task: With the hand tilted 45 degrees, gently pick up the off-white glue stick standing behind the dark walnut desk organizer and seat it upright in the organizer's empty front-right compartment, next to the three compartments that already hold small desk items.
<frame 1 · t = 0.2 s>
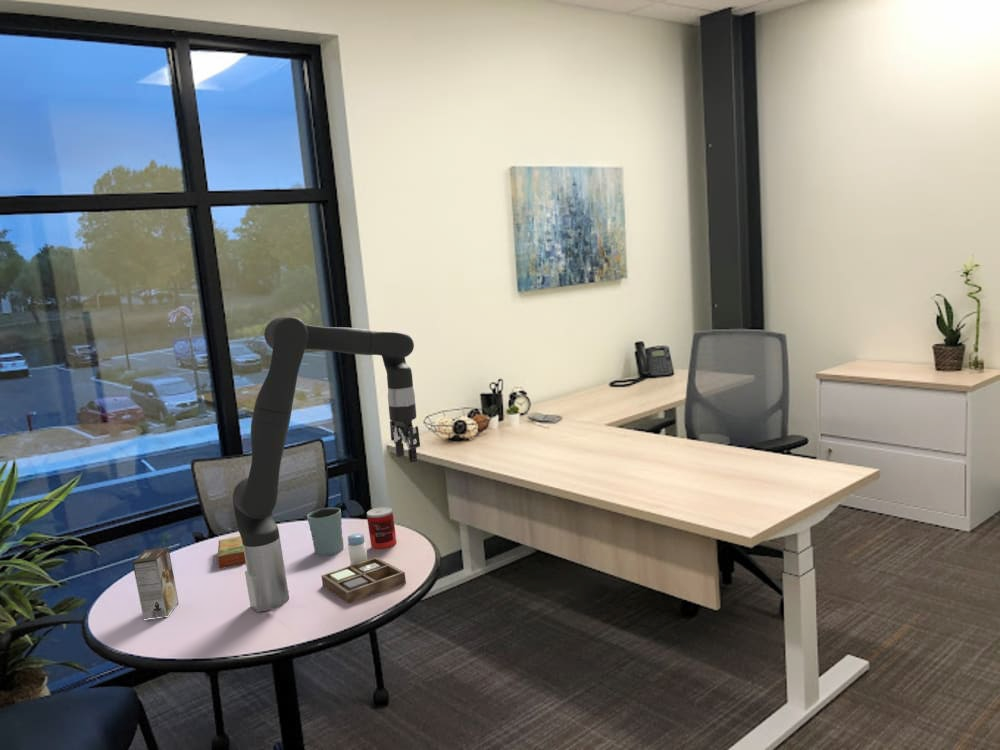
hand: (406, 459, 228), 28 cm above the table, tool pointing down, fingers open, 8 cm apart
organizer: (364, 586, 213), on the table
note block: (344, 585, 214), point 1 cm above the table, touching organizer
glue stick: (360, 568, 226), on the table
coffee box: (161, 612, 211), on the table
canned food: (384, 546, 242), on the table
eraser: (357, 593, 208), point 1 cm above the table, touching organizer
grey rectangular block: (370, 575, 218), point 1 cm above the table, touching organizer
green cup: (329, 550, 244), on the table
carton: (233, 558, 247), on the table
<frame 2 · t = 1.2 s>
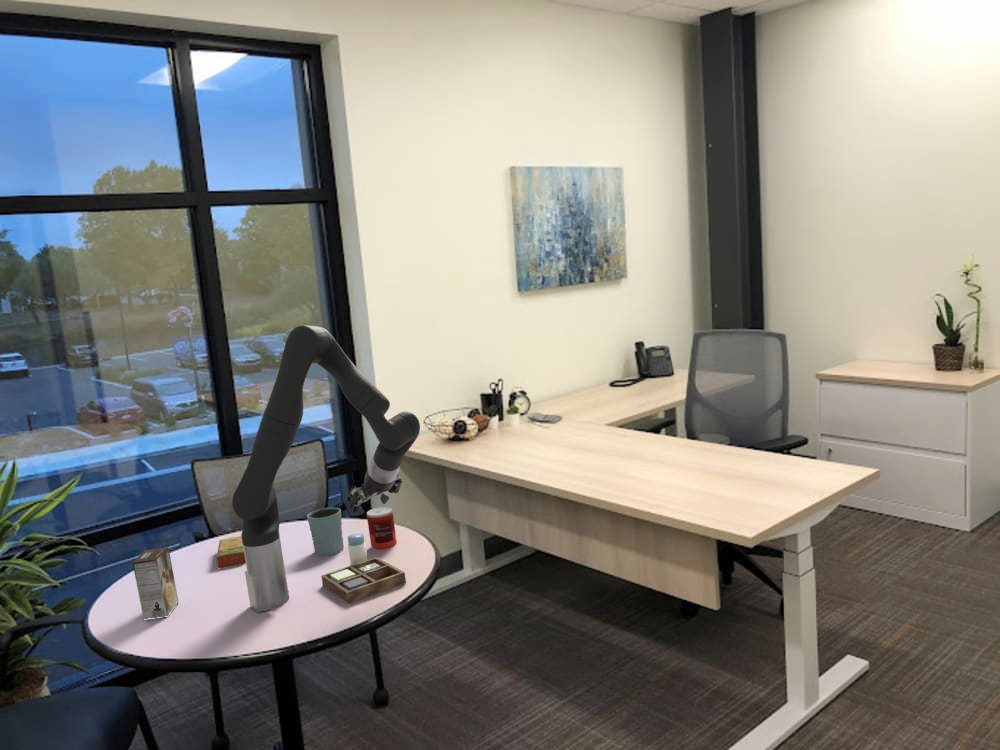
hand: (368, 505, 214), 21 cm above the table, tool tilted 45°, fingers open, 8 cm apart
nothing on the table moved.
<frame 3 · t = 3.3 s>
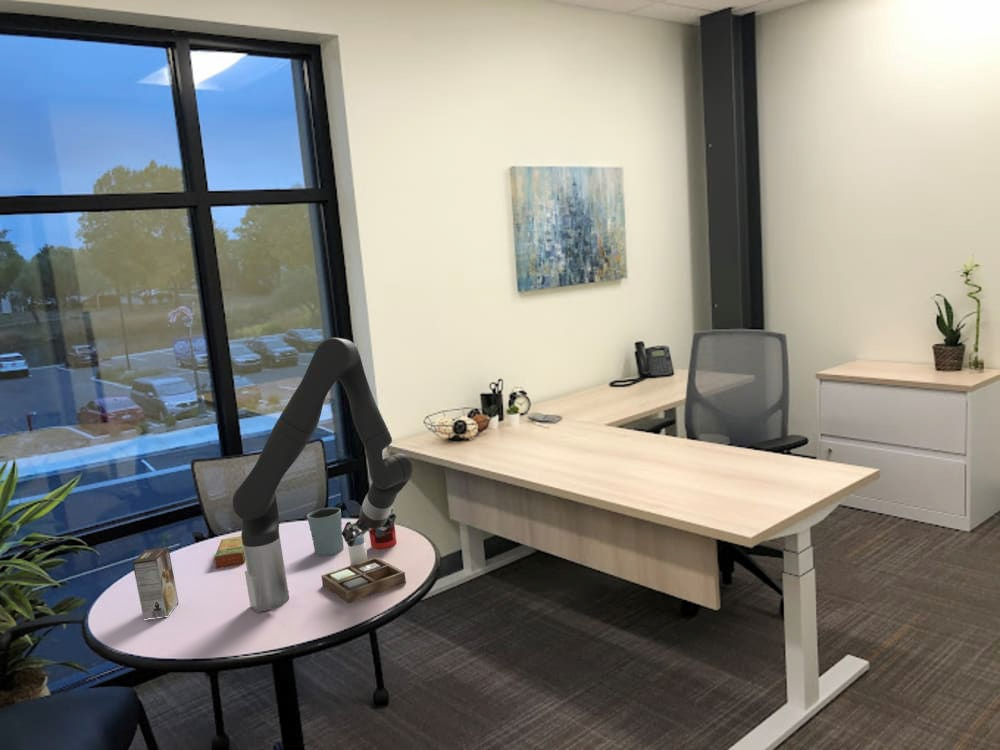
hand: (363, 539, 221), 10 cm above the table, tool tilted 45°, fingers open, 8 cm apart
nothing on the table moved.
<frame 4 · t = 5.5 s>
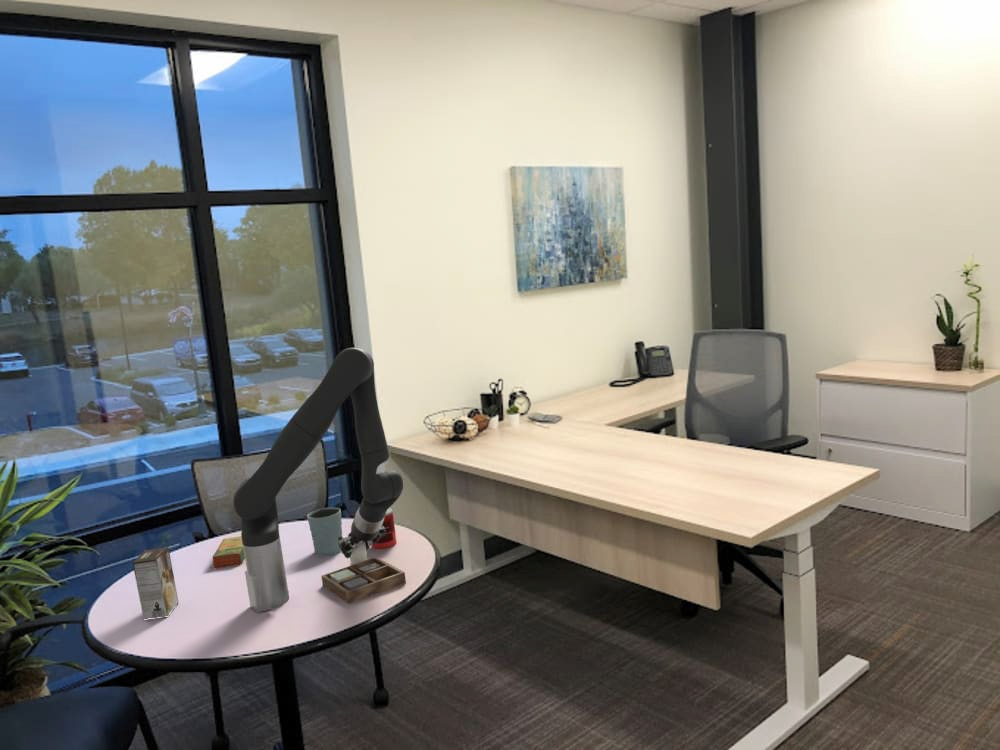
hand: (355, 552, 227), 4 cm above the table, tool tilted 45°, fingers closed on glue stick, 4 cm apart
glue stick: (360, 568, 226), on the table, touching gripper
everything else where it was.
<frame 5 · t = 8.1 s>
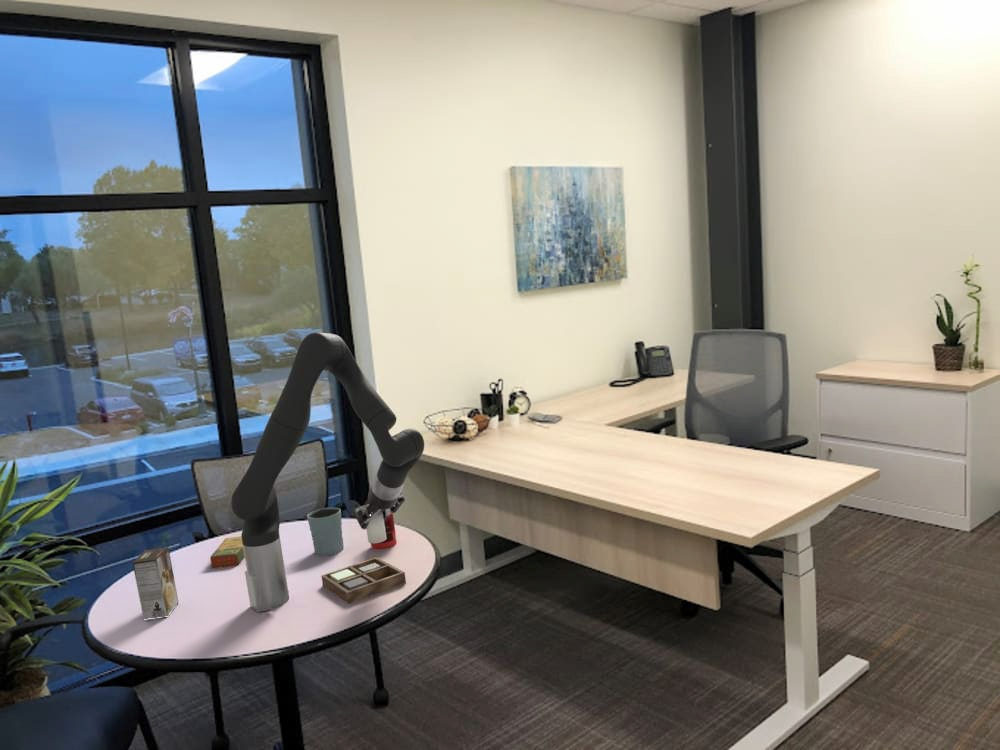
hand: (371, 523, 212), 16 cm above the table, tool tilted 45°, fingers closed on glue stick, 4 cm apart
glue stick: (377, 540, 211), point 12 cm above the table, touching gripper
when the fingers open (7 cm above the table, at t = 10.5 s): glue stick drops 2 cm, resting on organizer.
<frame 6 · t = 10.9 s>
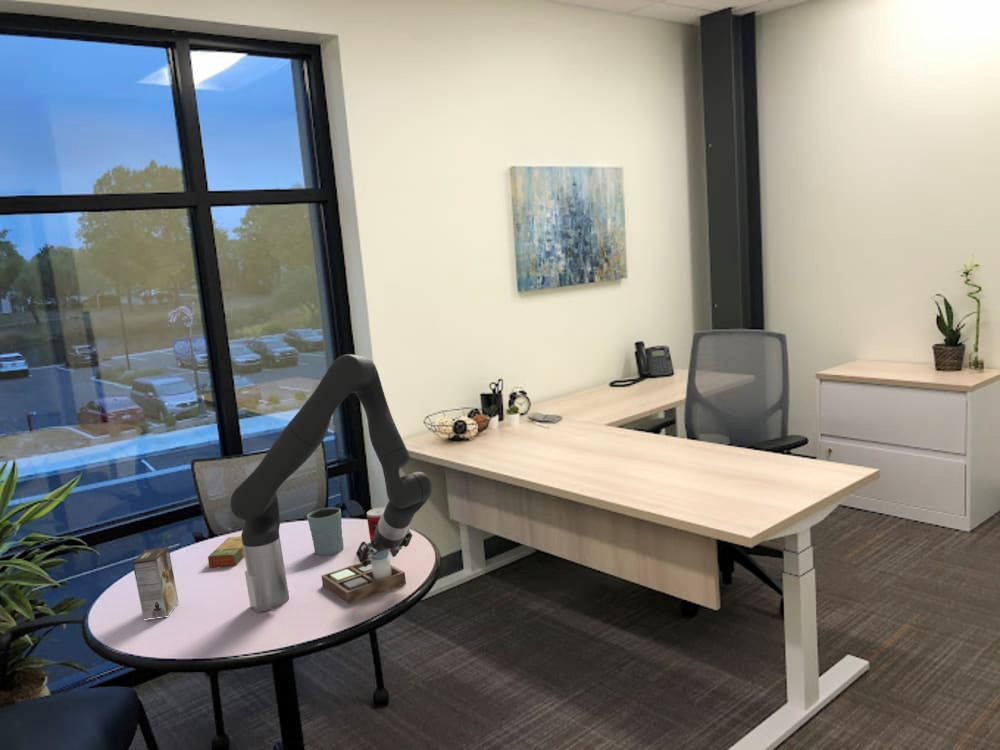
hand: (378, 558, 212), 7 cm above the table, tool tilted 45°, fingers open, 8 cm apart
glue stick: (383, 583, 212), point 1 cm above the table, touching organizer
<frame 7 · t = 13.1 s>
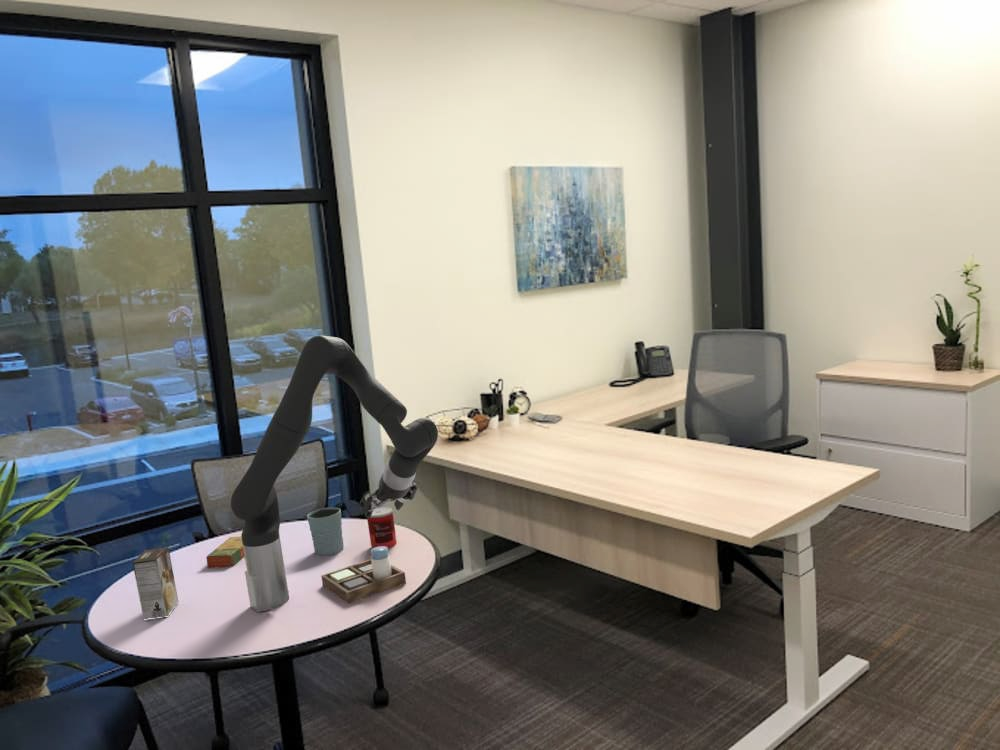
hand: (381, 511, 208), 20 cm above the table, tool tilted 45°, fingers open, 8 cm apart
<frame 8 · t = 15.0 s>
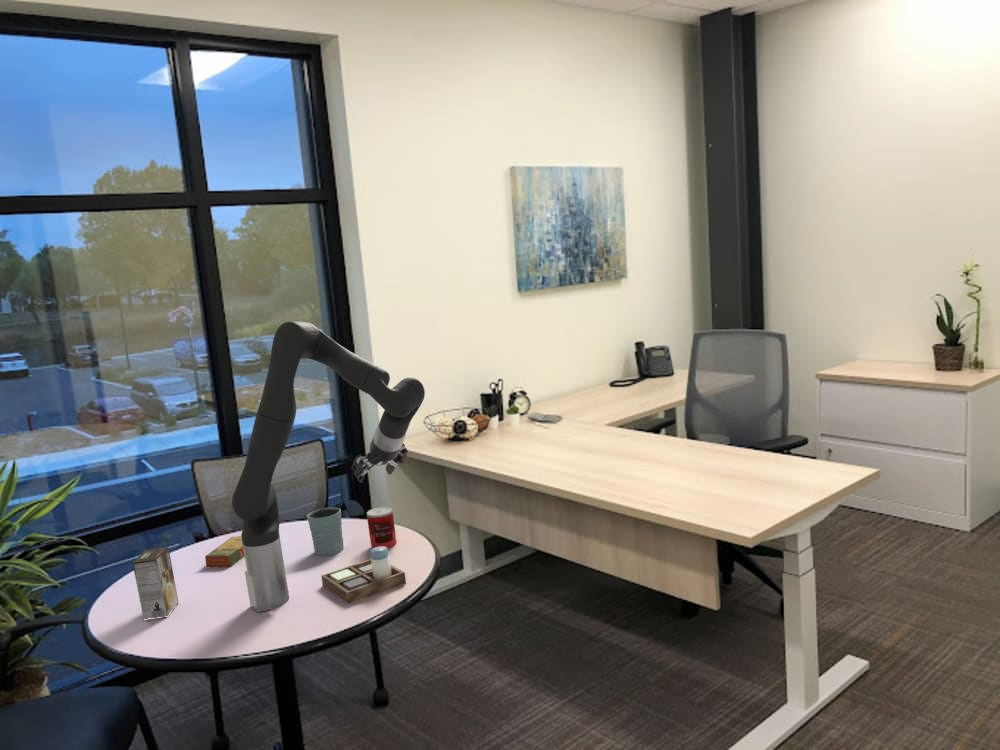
hand: (373, 475, 213), 29 cm above the table, tool tilted 45°, fingers open, 8 cm apart
at the end: glue stick 0.1 cm from the target spot on the organizer, point 0.6 cm above the organizer's base; glue stick tilted 0°; the gripper is holding nothing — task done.
